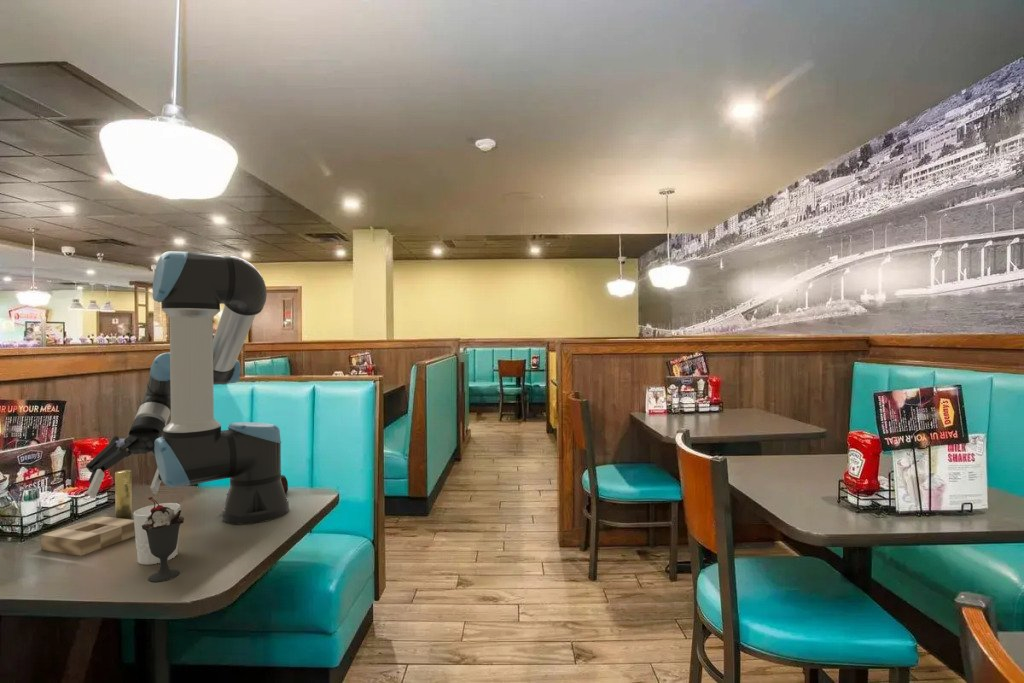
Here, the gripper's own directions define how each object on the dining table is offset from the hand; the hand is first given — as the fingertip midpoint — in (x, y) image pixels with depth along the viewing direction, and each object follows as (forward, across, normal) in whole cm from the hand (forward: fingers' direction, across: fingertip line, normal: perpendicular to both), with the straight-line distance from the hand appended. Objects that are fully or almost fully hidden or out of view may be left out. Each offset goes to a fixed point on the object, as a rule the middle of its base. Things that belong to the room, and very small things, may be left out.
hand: (122, 493), depth 127 cm
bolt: (-4, -28, -14) cm, 31 cm away
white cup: (+24, -19, +14) cm, 34 cm away
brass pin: (+5, 0, -4) cm, 7 cm away
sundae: (+31, -24, +21) cm, 44 cm away
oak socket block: (+15, -1, +5) cm, 16 cm away
